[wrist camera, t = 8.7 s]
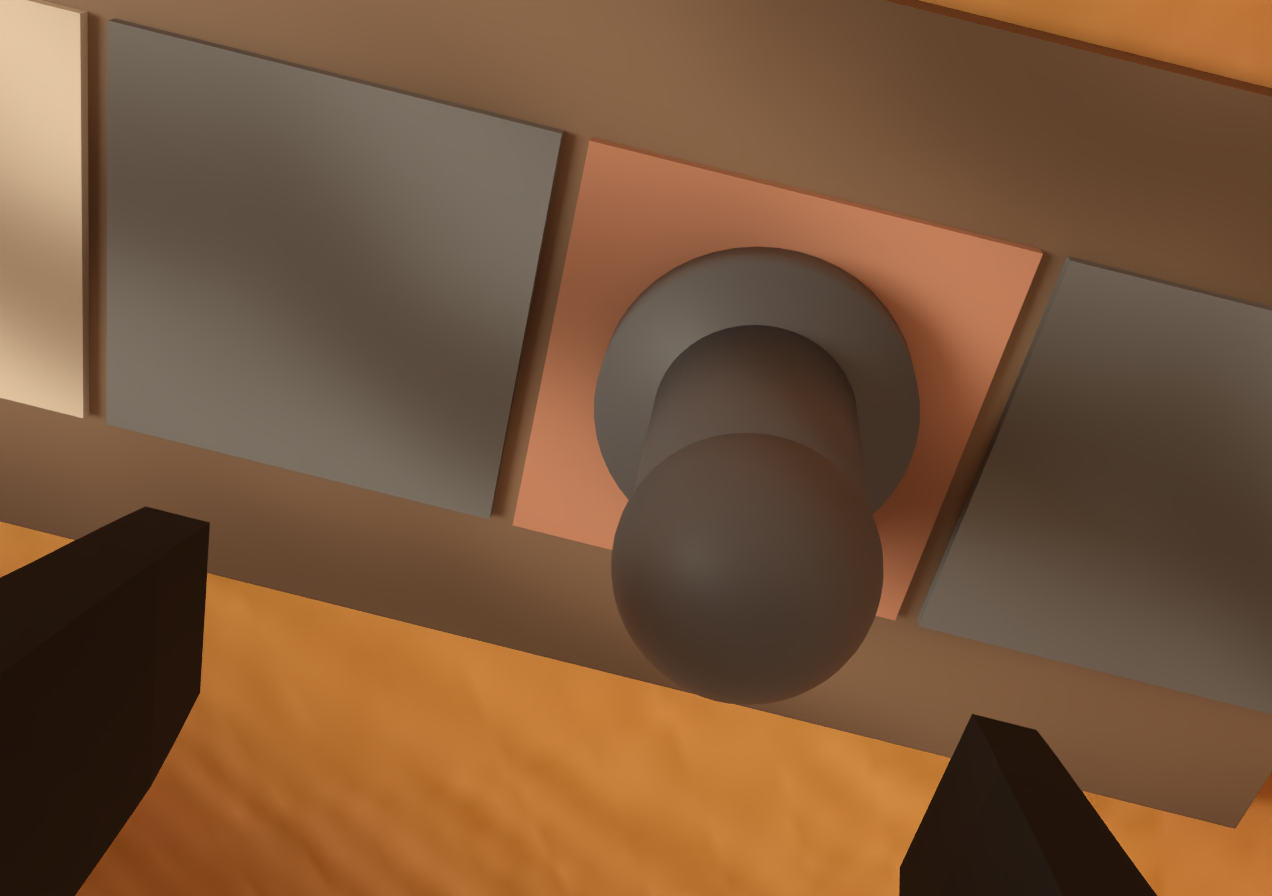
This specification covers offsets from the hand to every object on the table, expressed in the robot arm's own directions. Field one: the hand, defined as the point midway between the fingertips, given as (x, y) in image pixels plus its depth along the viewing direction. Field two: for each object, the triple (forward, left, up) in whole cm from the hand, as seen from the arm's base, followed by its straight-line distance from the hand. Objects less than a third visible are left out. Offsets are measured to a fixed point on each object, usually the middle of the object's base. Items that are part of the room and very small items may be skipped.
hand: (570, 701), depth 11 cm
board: (0, +2, -9) cm, 9 cm away
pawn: (0, -2, -8) cm, 8 cm away
